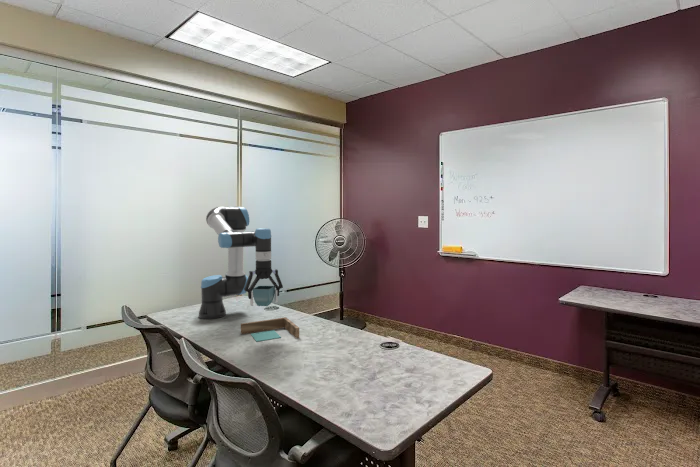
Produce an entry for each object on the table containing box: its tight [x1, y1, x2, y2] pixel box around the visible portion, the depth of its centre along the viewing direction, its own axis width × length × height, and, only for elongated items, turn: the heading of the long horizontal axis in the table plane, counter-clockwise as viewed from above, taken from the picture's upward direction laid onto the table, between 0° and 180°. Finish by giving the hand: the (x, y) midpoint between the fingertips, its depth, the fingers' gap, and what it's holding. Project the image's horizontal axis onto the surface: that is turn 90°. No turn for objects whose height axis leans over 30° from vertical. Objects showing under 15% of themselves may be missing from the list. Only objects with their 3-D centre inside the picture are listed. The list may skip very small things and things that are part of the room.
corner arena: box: [240, 316, 300, 339], centre depth 183 cm, size 20×24×5 cm
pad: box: [250, 329, 282, 343], centre depth 182 cm, size 12×12×1 cm
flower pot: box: [252, 285, 276, 307], centre depth 180 cm, size 9×9×9 cm
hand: (264, 303), depth 181 cm, fingers closed on flower pot, 11 cm apart
